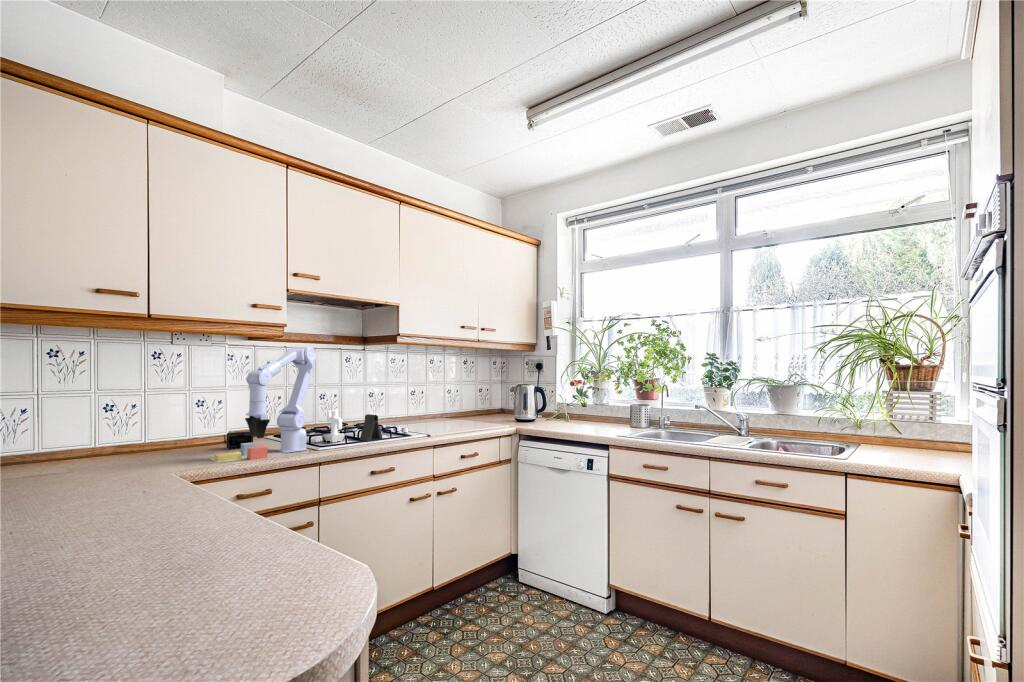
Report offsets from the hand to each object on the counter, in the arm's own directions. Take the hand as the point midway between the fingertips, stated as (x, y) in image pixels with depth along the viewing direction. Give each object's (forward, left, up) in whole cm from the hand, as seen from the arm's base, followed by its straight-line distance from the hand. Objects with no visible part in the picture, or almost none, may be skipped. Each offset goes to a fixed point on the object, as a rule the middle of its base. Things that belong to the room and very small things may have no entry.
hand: (256, 436), depth 195 cm
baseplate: (+8, -6, -8) cm, 13 cm away
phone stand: (-55, -11, -9) cm, 56 cm away
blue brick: (0, -11, -8) cm, 14 cm away
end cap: (-3, -29, -9) cm, 30 cm away
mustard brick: (+8, -6, -8) cm, 13 cm away
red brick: (0, 0, -8) cm, 9 cm away
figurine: (-39, -16, -9) cm, 43 cm away
